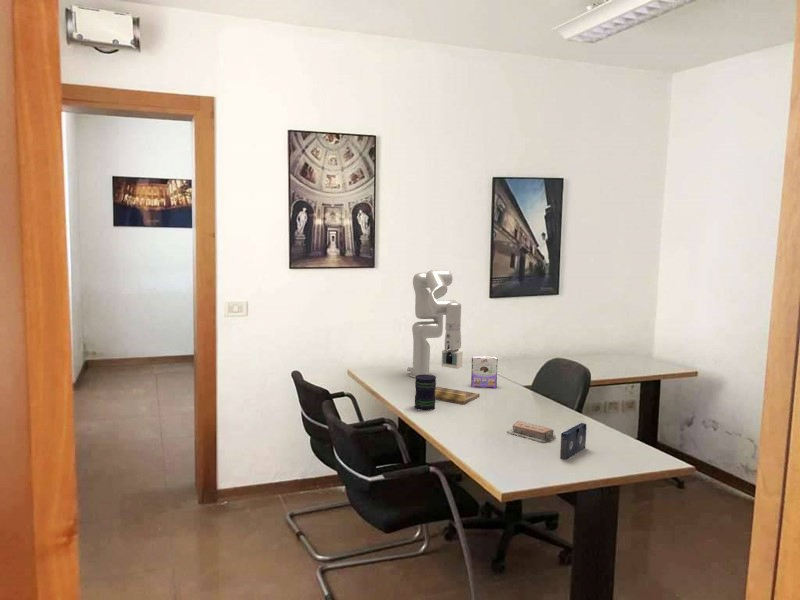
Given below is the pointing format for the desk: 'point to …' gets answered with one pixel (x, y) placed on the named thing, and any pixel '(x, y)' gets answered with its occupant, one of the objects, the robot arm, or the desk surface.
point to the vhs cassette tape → (573, 441)
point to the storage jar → (425, 392)
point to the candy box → (484, 371)
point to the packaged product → (532, 431)
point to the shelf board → (454, 395)
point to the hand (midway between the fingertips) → (451, 362)
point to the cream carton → (453, 359)
